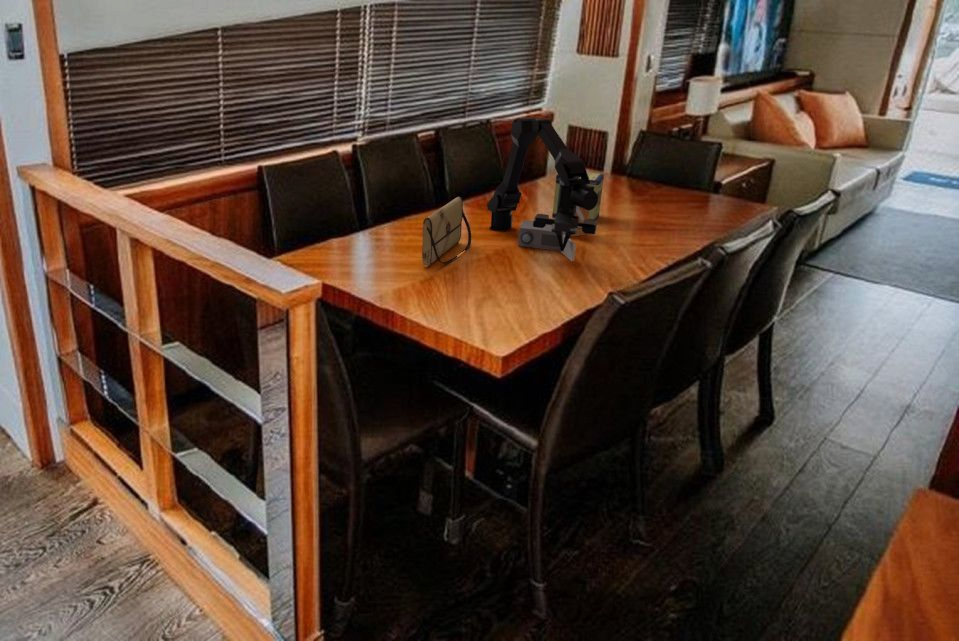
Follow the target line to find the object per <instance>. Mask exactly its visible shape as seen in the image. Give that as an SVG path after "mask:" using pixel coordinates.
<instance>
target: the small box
mask: <svg viewBox="0 0 959 641" xmlns="http://www.w3.org/2000/svg"><path fill="white" fill-rule="evenodd" d="M576 216H579V222H582V223H583V222H584V219H587V220H588V218H589V210H585V209H583V208H581V207H579V206H577V208H576ZM579 236H587V234H586V233H584V232H583V231H582V229H579V228H577V232H576V234H572V235H571V237H570V238H574V237H579Z"/></svg>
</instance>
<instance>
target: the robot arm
mask: <svg viewBox="0 0 959 641" xmlns="http://www.w3.org/2000/svg"><path fill="white" fill-rule="evenodd" d="M510 136H511V140H512V142H513V143H512V146H511V149H510V154H509V158H508V161H507V165H506V168H505V171H504V176H503V179H502V182H501V183H500V184H498V186H497V187H496V188H495V190H494V192H493V196H492V197H491V198H490V199H489V200H488V201H487V203H486V206H487V211H489V212H491V215H490V216H491V217H490V218H491V219H490V226H489V230H491V231H492V230H493V231H494V230H495V231H501V232H509V231H510V229H512V226H513V219H514V218H513V216H514V215H513V214H512V212H514V211H515V212H516V210H517V208H518V205H519V204H520V202H521V201H520V200H521V197H522V192H521V191H520V189H519V187H518V186H519V182H520V177H521V174H522V172H523V168H524V163H525V160H526V157H527V155H528V154H527V153H528V150H529V147H530V146H531V145H532V144H533V143H534V142H535V141H536V139H537V137H538V136H539V138H540V141H542V143H543V144H544V146H545V147H546V149H547V150H548V152H549V154H550V155H551V157H552V158H553V160H554V169H555V171H556V173H557V174H558V175H559V177H560V178H559V179H557V180H556V179H555V181H554V182H555V183H558V184H560V187H559V196H558V205H557V212H556V215H555V218H550V215H549V214H545V213H544V214H543V213H536V215H535V216H534V218H533V220H532V221H533V227H538V228H544V227H545V226H546V224H547V225H552V232H555V234H556V235H557V238H558V241H559V246H560V250H561V251H564V248H565V246H566V244H567V242H568V240H569V239H571V238H572V237H571V235H572V234H576V232H577V228H579V229H582V231H583V232H584V233H586V235H595V234H596V232H597V227H598V222H597V220H596V221H595V220H587V219H584V222H583V223H582V222H579V216H576V208H577V206H579V207H581V208H583V209H585V210H592V209H593V208H594V207H595V206H596V205H597V203H598V195H597V193H596V192H595V191H594V187H593V186H589V185H586V184H590V181H589V177H588V174H587V173H588V172H587V169H586V166H585V165H586V164H585V162H584V161H583V160H582V158H581V157H580V156H579V155H578V154H577V153H575V152H572V151H571V150H570V149H569V148H568V147H567V145H566V144H565V143H564V141H563V139H562V138H561V136H560V135H559V133H558V132H557V131H556V128H554V126H553V123H552V121H551V119H549V118H546V117H545V118H536V117H533V116H532V117H531V116H530V117H517V118H515V119H513V121H512V123H511V129H510ZM580 177H581V179H574V178H580ZM569 179H574V180H569ZM563 232H566V234H565V238H564V242H563Z"/></svg>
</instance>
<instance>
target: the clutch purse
mask: <svg viewBox="0 0 959 641" xmlns="http://www.w3.org/2000/svg"><path fill="white" fill-rule="evenodd" d="M463 206H464V202H463V199H462V197H460V196H457V197H455V198H454V199H452V200H451V201H450V202H448V203H447V204H445V205H444V206H441V208H438V209H437V210H436V211H435V212H433V213H431V214H429V215H428V216H427V217H426V218H424V220H423V222H422V223H423V225H422V247H421V248H422V249H421V250H422V251H421V254H422V255H421V256H422V258H421V260H422V263H423V265H426V266H429V267H430V266H431V265H432V264H434V262H436V260H437V261H438V262H439V263H441V264H449V263H451V262H453V261H454V260H453V259H455V258H456V257H457V255H456V256H453V257H452V258H450V259H448V260H445V261H441V259H440V257H442V254H443V255H444V254H445V253H446V252H447V251H449V250H450V249H451V248H453V247H454V246H455V245H456V244H458V243H459V242H460V240H461V237H462V223H463V221H464V223H465V224H464V225H465V226H466V230H467V234H468V235H467V236H468V237H467V238H468V239H467V244H466V246H465V248H464V249H463V250H462V251H461V252H463V251H464V250H466V251H467V250H469V248H471V244H472V233H471V232H472V230H471V226H470V224H469V221H468V219H467V217H466V214H465V211H464V207H463ZM457 242H458V243H457ZM456 259H457V258H456ZM456 259H455V260H456ZM452 260H453V261H452ZM431 263H432V264H431Z"/></svg>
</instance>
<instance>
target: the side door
mask: <svg viewBox="0 0 959 641" xmlns="http://www.w3.org/2000/svg"><path fill="white" fill-rule="evenodd" d="M564 238H565V235H564V234H563V242H564ZM576 245H577V244H576V242H574V241H573V240H572V239H571V238H569V240H568V242H567V244H566V246H565V248H564V251H561V250H560V251H559V252H560V253H561V254H562V255H564V257H566V258H568V260H570V262H574V261H575V256H576V250H577V249H576Z"/></svg>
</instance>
